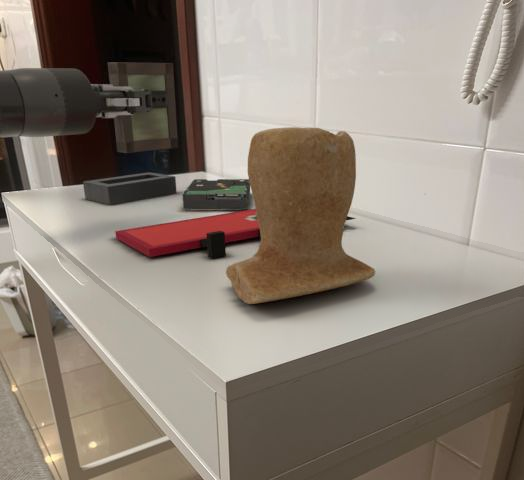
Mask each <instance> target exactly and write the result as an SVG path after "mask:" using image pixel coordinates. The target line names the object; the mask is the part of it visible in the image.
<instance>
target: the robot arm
mask: <svg viewBox="0 0 524 480" xmlns="http://www.w3.org/2000/svg"><path fill="white" fill-rule="evenodd" d="M115 91H123V92H115ZM124 94H125V95H124ZM125 107H126V108H125ZM168 107H169V95H168V92H167V91H148V89H140V90H133V88H132V87H130V86H113V85H110V84H109V83H108V84H107V83H106V84H104V83H103V84H99V83H91V82H90V80H89V78H88V76H87V75H86V74H85V73H84V72H83V71H81V69H77V68H74V67H73V68H71V67H70V68H66V67H65V68H64V67H61V68H60V67H58V68H57V67H55V68H54V67H38V68H37V67H20V68H13V69H4V70H0V139H1V138H3V139H4V138H15V137H16V138H17V137H26V138H45V137H46V138H47V137H60V136H71V135H83V134H84V135H85V134H87V133H89V132H90V131H91V130H92V129H93V127H94V125H95V123H96V118H101V119H114V118H115V117H116V116H119V115H133V114H135V113H139V112H150V111H153V109H156V108H168ZM124 109H125V110H124ZM120 110H124V111H120Z"/></svg>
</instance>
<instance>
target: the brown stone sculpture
mask: <svg viewBox="0 0 524 480" xmlns="http://www.w3.org/2000/svg"><path fill="white" fill-rule="evenodd" d="M356 157H357V154H356V146H355V143H354V140H353V138H352V136H351V135H350V134H349V133H348V132H347V131H346V130H345V131H344V130H340V131H338V132H337V133H336V134H335V133H333V132H330V131H329V130H326V129H323V128H321V127H299V126H298V127H294V126H293V127H275V128H269V129H263V130H260V131H258V132H256V133H255V134H253V136H252V137H251V139H250V144H249V148H248V155H247V176H248V177H247V178H248V179H249V183H250V191H251V194H252V198H253V202H254V203H253V204H254V209H256V212H257V218H258V223H259V228H260V235H261V236H260V241H259V242H260V243H259V247H258V249H257V252H255V253H254V254H253V255H252V256H251V257H249V258H247V259H243V260H240V261H238V262H234V263H232V264H229V265H228V266H227V267H226V270H225V274H226V277H227V278H228V280H230V283H231V287H232V289H234V292H235V293H236V295H237V297H238V298H239V299H240V300H242V302H244V303H245V304H247V305H255V304H261V303H268V302H273V301H278V300H286V299H290V298H296V297H300V296H305V295H306V296H307V295H312V294H315V293H320V292H324V291H329V290H334V289H337V288H343V287H347V286H350V285H353V284H356V283H361V282H364V281H367V280H370V279H371V278H373V277H375V273H376V270H375V268H374V267H371V266H370V265H368V264H367V263H365V262H363V261H361V260H359V259H357V258H354V257H352V256H350V255H349V254H347V253H346V252H345V250H344V248H343V245H342V244H343V243H342V241H343V235H344V230H345V225H346V222H347V220H346V218H347V216H348V215H349V212H350V210H351V207H352V203H353V199H354V195H355V194H354V193H355V189H356V181H357V158H356Z"/></svg>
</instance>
